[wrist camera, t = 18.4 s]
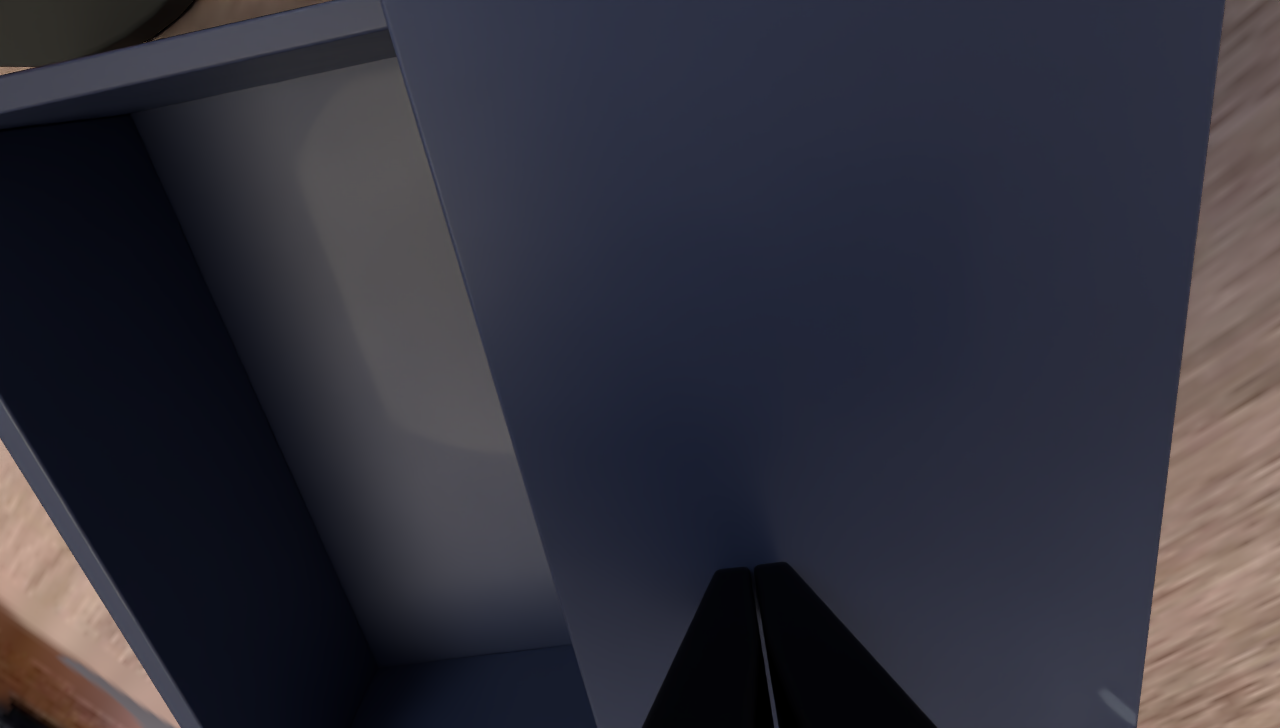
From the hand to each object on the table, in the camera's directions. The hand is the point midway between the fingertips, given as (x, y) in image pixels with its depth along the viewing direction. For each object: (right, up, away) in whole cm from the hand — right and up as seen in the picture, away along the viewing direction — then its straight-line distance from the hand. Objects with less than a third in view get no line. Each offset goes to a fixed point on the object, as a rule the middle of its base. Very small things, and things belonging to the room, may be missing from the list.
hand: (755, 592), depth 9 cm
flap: (+1, +1, +1) cm, 2 cm away
